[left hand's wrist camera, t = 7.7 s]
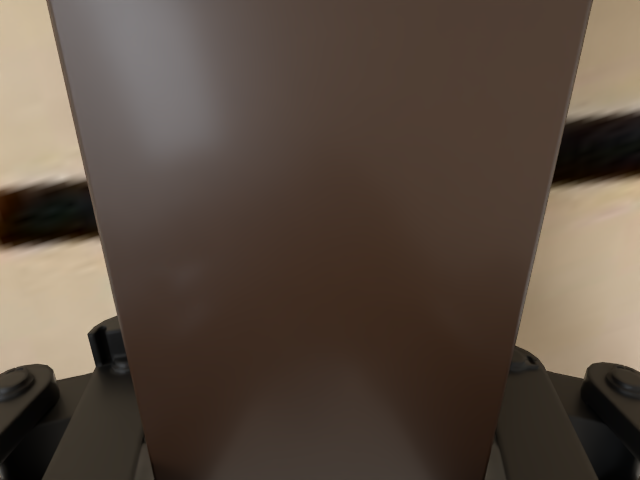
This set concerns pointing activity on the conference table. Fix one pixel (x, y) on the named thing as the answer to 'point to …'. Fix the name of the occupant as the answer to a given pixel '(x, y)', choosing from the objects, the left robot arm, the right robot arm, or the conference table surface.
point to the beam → (319, 220)
